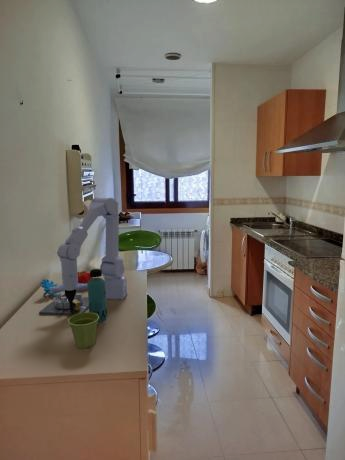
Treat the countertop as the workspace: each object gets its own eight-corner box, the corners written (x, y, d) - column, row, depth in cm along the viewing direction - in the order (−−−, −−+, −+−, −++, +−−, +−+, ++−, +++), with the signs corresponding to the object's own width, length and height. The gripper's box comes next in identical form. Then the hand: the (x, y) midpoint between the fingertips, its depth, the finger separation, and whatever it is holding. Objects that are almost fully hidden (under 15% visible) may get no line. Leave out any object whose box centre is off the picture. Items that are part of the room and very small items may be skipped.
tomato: (98, 285, 162) (97, 271, 161) (81, 292, 153) (80, 276, 152) (83, 282, 168) (82, 268, 167) (65, 288, 159) (64, 273, 158)
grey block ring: (76, 297, 143) (76, 287, 143) (91, 306, 132) (90, 296, 132) (51, 303, 137) (50, 293, 136) (64, 314, 125) (63, 303, 125)
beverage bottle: (91, 329, 115) (88, 273, 112) (87, 322, 121) (84, 269, 118) (110, 325, 118) (107, 270, 115) (104, 318, 124) (102, 266, 121)
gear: (53, 296, 143) (38, 279, 144) (45, 305, 144) (30, 289, 145) (66, 291, 154) (52, 276, 155) (57, 300, 155) (43, 284, 156)
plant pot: (93, 352, 99) (92, 325, 98) (64, 350, 101) (62, 323, 100) (104, 338, 109) (103, 313, 107) (77, 336, 110) (76, 311, 109)
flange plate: (96, 299, 143) (96, 297, 143) (81, 315, 127) (80, 313, 126) (59, 298, 145) (59, 296, 145) (39, 314, 129) (39, 311, 129)
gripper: (48, 279, 121) (51, 314, 123) (89, 275, 125) (91, 310, 127) (50, 274, 128) (52, 307, 129) (89, 271, 132) (90, 303, 133)
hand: (71, 308), depth 129 cm, fingers closed, pressing on grey block ring
